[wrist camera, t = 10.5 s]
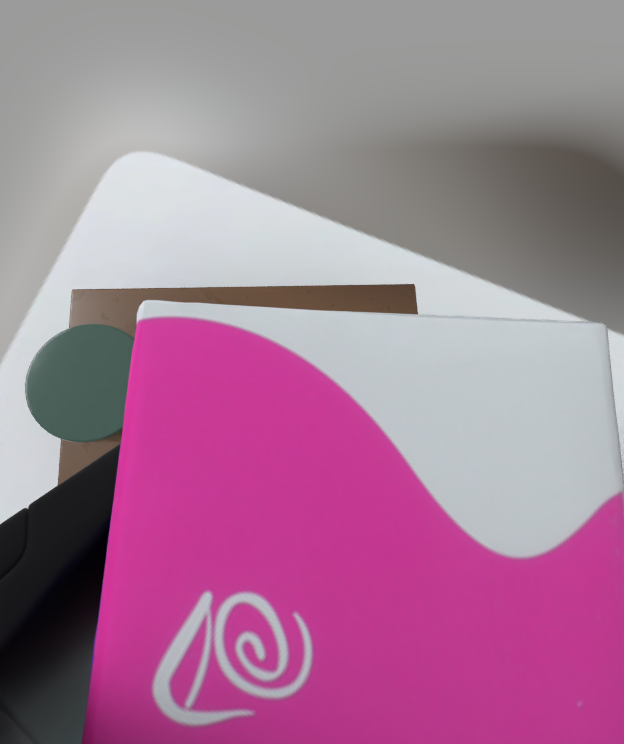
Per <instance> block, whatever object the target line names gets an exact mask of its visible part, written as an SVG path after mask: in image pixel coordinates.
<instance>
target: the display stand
mask: <svg viewBox="0 0 624 744" xmlns="http://www.w3.org/2000/svg"><path fill="white" fill-rule="evenodd" d="M146 300H161V301H171V302H183V303H208V304H223V305H240V306H256V307H272V308H287V309H303V310H321V311H349V312H373V313H396V314H417V315H418V312H417V302H416V292H415V285H414V284H394V285H331V286H267V287H204V288H141V289H77V290H72V295H71V309H70V323H69V328H72V327H75V326H80V325H85V324H103V325H109V326H112V327H116V328H118V329H120V330H122V331H124V332H126V333H127V334H129V335H130V336H132V337H133V338H135V333H136V323H137V312H138V309H139V306H140V305H141V304H142V302H143V301H146ZM119 444H120V443H78V442H71V441H67V440H63V439H61V449H60V463H59V476H58V485H59V484H61V483H62V482H64V481H65V480H67V479H68V478H70V477H71V476H73V475H74V474H76V473H77V472H79V471H80V470H82V469H83V468H85V467H86V466H88V465H89V464H91V463H92V462H94V461H95V460H96V459H98V458H99V457H101V456H102V455H104V454H105V453H107V452H108V451H110V450H111V449H113V448H114V447H116V446H117V445H119Z"/></svg>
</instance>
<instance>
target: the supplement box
mask: <svg viewBox="0 0 624 744" xmlns="http://www.w3.org/2000/svg"><path fill="white" fill-rule="evenodd" d="M81 744H624V480H623V470H622V461H621V452H620V443H619V434H618V426H617V418H616V410H615V402H614V392H613V383H612V373H611V363H610V353H609V343H608V331H607V327H606V326H605V325H603V324H602V323H595V322H584V321H559V320H535V319H510V318H490V317H464V316H437V315H417V314H396V313H373V312H349V311H321V310H303V309H287V308H272V307H256V306H240V305H223V304H208V303H183V302H171V301H161V300H146V301H143V302H142V304H141V305H140V306H139V309H138V312H137V323H136V333H135V339H134V345H133V350H132V357H131V365H130V372H129V380H128V388H127V396H126V404H125V413H124V423H123V430H122V438H121V445H120V452H119V460H118V468H117V475H116V483H115V491H114V499H113V506H112V514H111V521H110V529H109V536H108V544H107V553H106V561H105V569H104V577H103V585H102V593H101V601H100V608H99V616H98V623H97V629H96V634H95V640H94V648H93V657H92V666H91V675H90V684H89V693H88V701H87V709H86V716H85V723H84V729H83V736H82V743H81Z"/></svg>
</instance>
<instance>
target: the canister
mask: <svg viewBox="0 0 624 744" xmlns="http://www.w3.org/2000/svg"><path fill="white" fill-rule="evenodd" d="M134 339H135V338H133V337H132V336H130V335H129V334H127V333H126V332H124V331H122V330H120V329H118V328H116V327H112V326H109V325H103V324H85V325H80V326H75V327H72V328H69V329H67V330H65V331H63V332H61V333H59V334H57V335H56V336H54V337H53V338H51V339H50V340H49V341H48V342H47V343H46V344H45V345H44V346H43V347H42V348H41V349H40V350H39V351H38V353H37V354H36V355H35V357H34V359H33V360H32V363H31V365H30V367H29V370H28V373H27V377H26V384H25V393H26V400H27V403H28V407H29V409H30V411H31V414H32V415H33V417H34V418H35V420H36V421H37V422H38V423H39V424H40V426H41V427H42V428H44V429H45V430H46V431H47V432H49V433H50V434H52V435H54V436H56V437H58V438H60V439H63V440H67V441H71V442H78V443H121V438H122V430H123V423H124V413H125V404H126V396H127V388H128V380H129V372H130V365H131V357H132V350H133V345H134Z"/></svg>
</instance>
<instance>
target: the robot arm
mask: <svg viewBox="0 0 624 744" xmlns="http://www.w3.org/2000/svg"><path fill="white" fill-rule="evenodd" d="M120 445H121V443H120V444H119V445H117V446H116V447H114V448H113V449H111V450H110V451H108V452H107V453H105V454H104V455H102V456H101V457H99V458H98V459H96V460H95V461H94V462H92V463H91V464H89V465H88V466H86V467H85V468H83V469H82V470H80V471H79V472H77V473H76V474H74V475H73V476H71V477H70V478H68V479H67V480H65V481H64V482H62V483H61V484H59V485H58V486H57V487H55V488H54V489H52V490H51V491H49V492H48V493H46V494H45V495H43V496H42V497H40V498H39V499H37V500H36V501H34V502H33V503H31V504H30V505H29V507H28V509H27V508H24V509H22V510H21V511H19V512H18V513H16V514H15V515H13V516H12V517H10V518H9V519H7V520H6V521H4V522H3V523H1V524H0V744H81V743H82V736H83V729H84V723H85V716H86V709H87V701H88V693H89V684H90V675H91V666H92V657H93V648H94V640H95V634H96V629H97V623H98V616H99V608H100V601H101V593H102V585H103V577H104V569H105V561H106V553H107V544H108V536H109V529H110V521H111V514H112V506H113V499H114V491H115V483H116V475H117V468H118V460H119V452H120Z"/></svg>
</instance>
